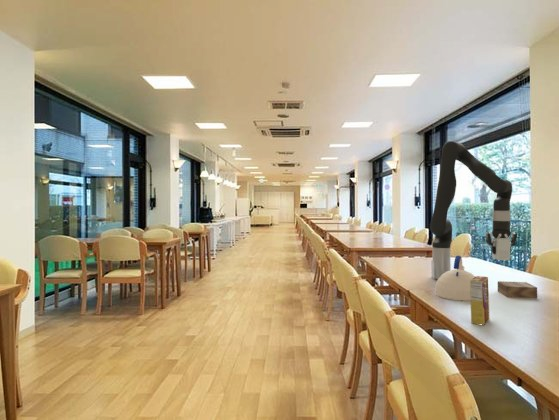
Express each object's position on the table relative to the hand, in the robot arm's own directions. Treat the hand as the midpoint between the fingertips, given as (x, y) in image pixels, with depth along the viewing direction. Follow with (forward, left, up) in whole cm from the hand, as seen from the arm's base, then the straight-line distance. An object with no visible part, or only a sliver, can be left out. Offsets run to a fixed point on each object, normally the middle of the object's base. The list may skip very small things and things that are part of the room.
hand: (500, 253), depth 189 cm
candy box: (-31, -60, -17) cm, 70 cm away
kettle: (-26, -20, -17) cm, 37 cm away
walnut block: (0, -16, -17) cm, 23 cm away
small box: (0, 0, -3) cm, 3 cm away
